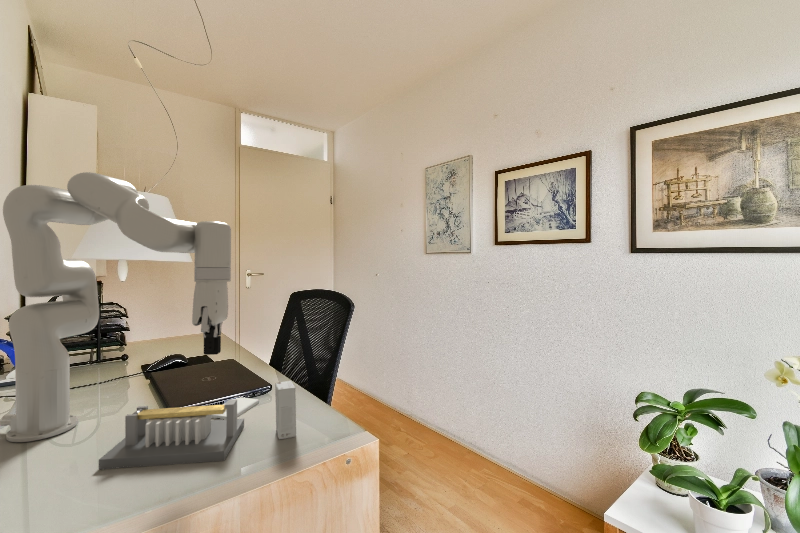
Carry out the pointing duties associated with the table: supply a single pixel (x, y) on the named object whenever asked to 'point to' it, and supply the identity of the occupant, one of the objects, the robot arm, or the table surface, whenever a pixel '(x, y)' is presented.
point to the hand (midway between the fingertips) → (212, 353)
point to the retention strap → (179, 412)
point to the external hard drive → (239, 407)
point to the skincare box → (285, 409)
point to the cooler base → (174, 440)
